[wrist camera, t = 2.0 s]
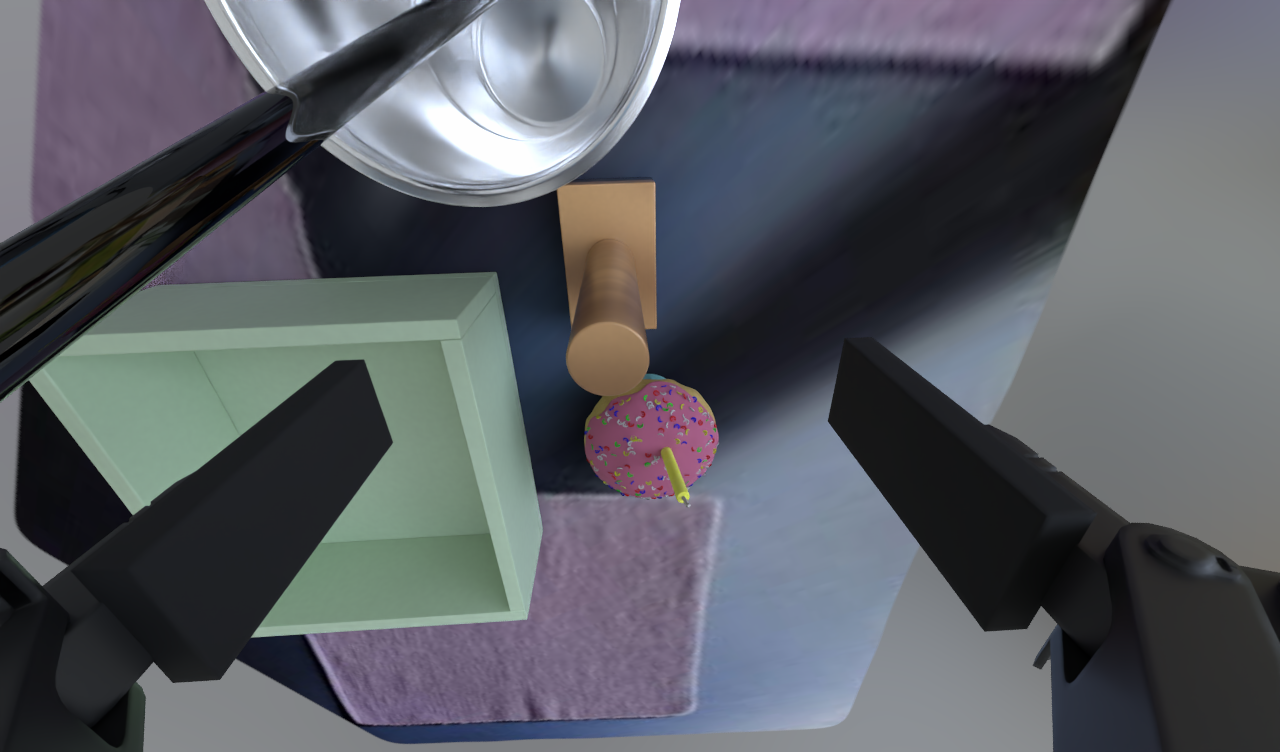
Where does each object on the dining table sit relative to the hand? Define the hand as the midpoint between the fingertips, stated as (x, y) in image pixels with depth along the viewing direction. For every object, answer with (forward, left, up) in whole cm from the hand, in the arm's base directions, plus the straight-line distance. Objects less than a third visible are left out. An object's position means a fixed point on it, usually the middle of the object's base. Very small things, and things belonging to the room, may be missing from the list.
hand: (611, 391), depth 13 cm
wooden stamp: (0, 0, -17) cm, 17 cm away
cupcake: (+11, +2, -17) cm, 20 cm away
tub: (+12, -17, -17) cm, 27 cm away
